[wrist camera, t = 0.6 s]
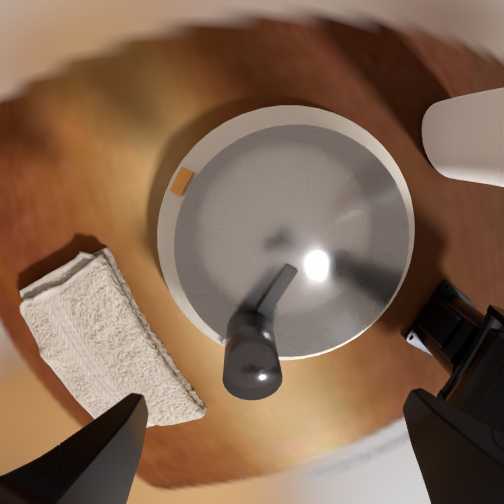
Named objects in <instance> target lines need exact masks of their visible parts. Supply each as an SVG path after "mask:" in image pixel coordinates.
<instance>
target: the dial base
mask: <svg viewBox="0 0 504 504" xmlns="http://www.w3.org/2000/svg"><path fill="white" fill-rule="evenodd" d="M281 125H312V126H318V127H323V128H327V129H330V130H334V131H337V132H339V133H341V134H344V135H346V136H348V137H350V138H352V139H354V140H355V141H357V142H358V143H360V144H361V145H363V146H364V147H366V148H367V149H368V150H369V151H370V152H372V153H373V154H374V155H375V156H376V157H377V158H378V159H379V160H380V161H381V162H382V164H383V165H384V166H385V167H386V168H387V169H388V171H389V172H390V174H391V176H392V177H393V179H394V180H395V182H396V184H397V186H398V188H399V190H400V193H401V195H402V198H403V201H404V204H405V207H406V211H407V217H408V223H409V249H408V256H407V261H406V266H405V269H404V272H403V275H402V278H401V281H400V283H399V285H398V287H397V289H396V291H395V293H394V295H393V296H392V298H391V300H390V301H389V303H388V304H387V306H386V307H385V308H384V310H383V311H382V312H381V313H380V315H379V316H378V317H377V318H376V319H375V320H374V321H373V322H372V323H371V324H370V325H369V326H368V327H366V328H365V329H364V330H363V331H361V332H360V333H359V334H357V335H356V336H354V337H353V338H351V339H349V340H348V341H346V342H344V343H342V344H340V345H338V346H336V347H334V348H331V349H328V350H326V351H323V352H319V353H315V354H311V355H306V356H297V357H279V360H295V359H304V358H308V357H313V356H317V355H320V354H323V353H326V352H329V351H332V350H334V349H336V348H338V347H340V346H342V345H344V344H346V343H348V342H350V341H351V340H353V339H354V338H356V337H358V336H359V335H360V334H362V333H363V332H364V331H365V330H367V329H368V328H369V327H370V326H371V325H372V324H374V323H375V322H376V321H377V320H378V318H379V317H380V316H381V315H382V314H383V313H384V312H385V310H386V309H387V308H388V307H389V305H390V304H391V303H392V301H393V299H394V298H395V296H396V295H397V293H398V291H399V290H400V287H401V285H402V283H403V281H404V279H405V277H406V274H407V271H408V268H409V265H410V262H411V257H412V252H413V247H414V235H415V225H414V212H413V206H412V201H411V197H410V194H409V191H408V187H407V184H406V182H405V180H404V178H403V176H402V173H401V171H400V169H399V168H398V166H397V164H396V163H395V161H394V160H393V158H392V157H391V155H390V154H389V153H388V152H387V150H386V149H385V148H384V147H383V146H382V145H381V144H380V142H379V141H377V140H376V139H375V138H374V137H373V136H372V135H371V134H369V133H368V132H367V131H366V130H364V129H363V128H361V127H360V126H358V125H357V124H355V123H354V122H352V121H350V120H348V119H346V118H344V117H342V116H340V115H337V114H335V113H332V112H329V111H326V110H322V109H319V108H313V107H306V106H298V105H280V106H273V107H266V108H261V109H257V110H254V111H251V112H247V113H244V114H241V115H239V116H237V117H235V118H233V119H231V120H229V121H226V122H225V123H223V124H222V125H220V126H218V127H217V128H215V129H214V130H212V131H211V132H209V133H208V134H207V135H206V136H205V137H204V138H203V139H201V140H200V141H199V142H198V143H197V144H196V145H195V146H194V147H193V148H192V149H191V150H190V152H189V153H188V154H187V155H186V156H185V157H184V159H183V160H182V161H181V163H180V165H179V166H178V168H177V169H176V171H175V173H174V174H173V176H172V178H171V180H170V182H169V185H168V187H167V189H166V191H165V194H164V197H163V201H162V204H161V208H160V212H159V219H158V227H157V247H158V254H159V261H160V266H161V269H162V273H163V276H164V279H165V282H166V284H167V286H168V288H169V291H170V293H171V295H172V297H173V298H174V300H175V302H176V303H177V305H178V306H179V308H180V309H181V311H182V312H183V313H184V314H185V316H186V317H187V318H188V319H189V320H190V321H191V322H192V323H193V324H194V325H195V326H196V327H197V328H198V329H199V330H200V331H201V332H202V333H204V334H205V335H207V336H208V337H209V338H211V339H212V340H214V341H215V342H217V343H219V344H221V345H222V346H224V347H225V343H226V340H225V339H224V338H223V337H221V336H220V335H218V334H217V333H216V332H214V331H213V330H212V329H211V328H210V327H209V326H208V325H207V324H206V323H205V322H204V321H203V320H202V319H201V318H200V317H199V315H198V314H197V313H196V312H195V310H194V309H193V307H192V306H191V304H190V302H189V301H188V299H187V297H186V295H185V293H184V291H183V288H182V286H181V284H180V280H179V277H178V273H177V270H176V264H175V256H174V235H175V228H176V221H177V218H178V214H179V211H180V207H181V204H182V202H183V200H184V198H185V195H186V193H187V191H188V189H189V187H190V186H191V184H192V183H193V181H194V179H195V178H196V176H197V175H198V173H199V172H200V171H201V170H202V169H203V168H204V166H205V165H206V164H207V163H208V162H209V161H210V160H211V159H212V158H213V157H214V156H215V155H217V154H218V153H219V152H220V151H221V150H222V149H224V148H225V147H227V146H228V145H230V144H231V143H233V142H235V141H236V140H238V139H240V138H242V137H244V136H246V135H248V134H251V133H253V132H256V131H259V130H262V129H266V128H269V127H275V126H281Z"/></svg>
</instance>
